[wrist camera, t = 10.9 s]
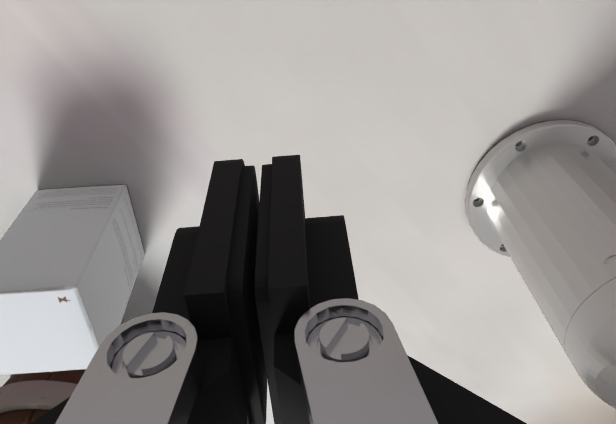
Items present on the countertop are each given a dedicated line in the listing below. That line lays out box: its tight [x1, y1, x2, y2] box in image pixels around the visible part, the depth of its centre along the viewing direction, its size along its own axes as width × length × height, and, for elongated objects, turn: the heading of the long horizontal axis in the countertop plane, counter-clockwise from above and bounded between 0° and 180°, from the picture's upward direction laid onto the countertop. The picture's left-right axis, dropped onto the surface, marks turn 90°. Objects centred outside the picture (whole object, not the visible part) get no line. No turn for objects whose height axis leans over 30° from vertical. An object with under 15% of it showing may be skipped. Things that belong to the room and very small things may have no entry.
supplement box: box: [0, 185, 145, 375], centre depth 40 cm, size 7×7×13 cm
